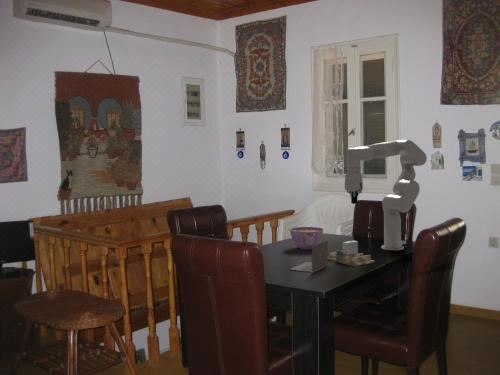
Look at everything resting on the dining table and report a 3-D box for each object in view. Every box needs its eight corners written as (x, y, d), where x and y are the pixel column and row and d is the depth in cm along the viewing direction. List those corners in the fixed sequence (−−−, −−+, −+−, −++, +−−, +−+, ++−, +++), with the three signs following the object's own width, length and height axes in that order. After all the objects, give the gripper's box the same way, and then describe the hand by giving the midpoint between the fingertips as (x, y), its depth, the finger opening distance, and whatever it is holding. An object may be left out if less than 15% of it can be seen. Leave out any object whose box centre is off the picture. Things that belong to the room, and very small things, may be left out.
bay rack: (345, 255, 281) (345, 244, 280) (374, 262, 262) (374, 251, 262) (325, 258, 274) (325, 247, 273) (354, 266, 255) (354, 254, 254)
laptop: (306, 263, 265) (305, 238, 264) (328, 265, 258) (327, 240, 257) (289, 270, 250) (289, 244, 249) (312, 273, 243) (312, 246, 242)
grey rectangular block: (342, 259, 267) (342, 242, 267) (353, 257, 271) (353, 240, 271) (346, 260, 265) (346, 243, 264) (357, 258, 269) (357, 241, 268)
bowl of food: (313, 253, 289) (312, 233, 289) (283, 249, 301) (283, 230, 301) (329, 247, 305) (329, 228, 304) (301, 244, 317) (301, 226, 317)
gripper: (339, 170, 285) (340, 203, 286) (358, 171, 272) (359, 205, 274) (349, 169, 289) (350, 201, 290) (368, 170, 276) (369, 203, 278)
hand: (354, 203), depth 282 cm, fingers closed
